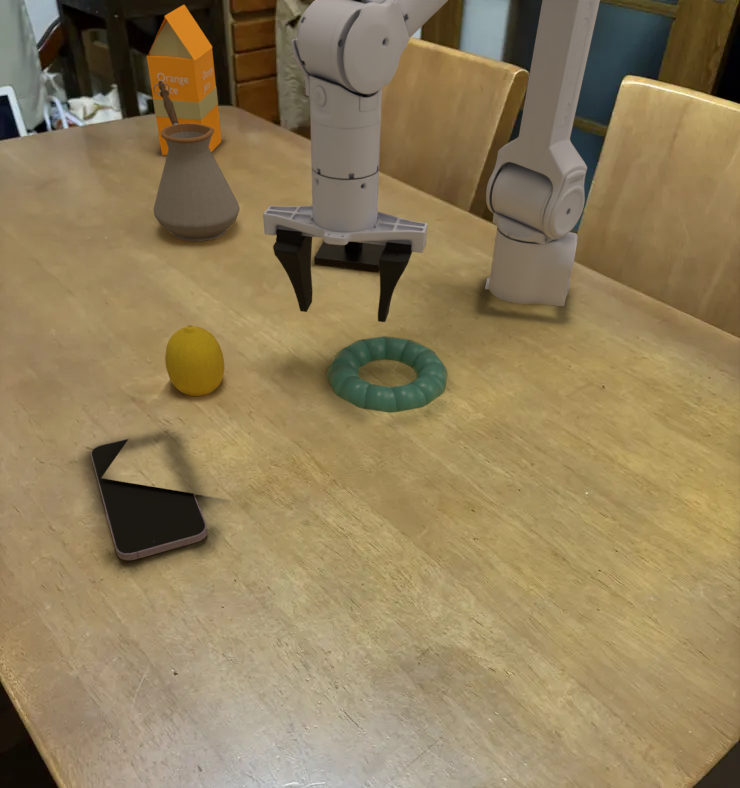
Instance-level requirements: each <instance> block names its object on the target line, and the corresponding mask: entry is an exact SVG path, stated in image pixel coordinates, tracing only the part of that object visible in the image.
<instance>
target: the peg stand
mask: <svg viewBox="0 0 740 788" xmlns="http://www.w3.org/2000/svg"><path fill="white" fill-rule="evenodd" d="M385 246H386V245H378V244H370V243H361V242H353V241H352V242H348V243H347V244H346V245H335V244H327V243H325V242H324V240H323V241H322V243H321V245H320V246H319V248H318V250H317V252H315V255H314V257H313V265H316V266H323V267H324V266H325V267H331V268H341V269H347V270H348V269H349V270H356V271H357V270H358V271H366V272H374V273H380V270H379V259H380V257H381V254H382V252H383V250H384V248H385Z"/></svg>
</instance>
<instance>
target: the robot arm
mask: <svg viewBox="0 0 740 788" xmlns="http://www.w3.org/2000/svg"><path fill="white" fill-rule="evenodd" d="M448 1H449V0H313V1H312V3H310V5H308V7H306V9H305V10H304V12H303V14H302V15H301V17H300V18H299V19H300V20H299V22H298V26H297V29H296V30H297V31H296V37H295V38H292V40H291V42H290V43H291V50H292V55H293V58H294V62H295V64H296V65H297V67H298V68H299V70H300V71H301V73H302V75H303V77H304V83H305V96H307V97H308V100H309V116H310V117H309V120H310V122H309V123H310V159H311V160H310V161H311V162H310V163H311V195H312V196H311V199H312V200H311V201H312V205H295V206H294V205H292V206H291V205H289V206H288V205H287V206H286V205H285V206H283V205H269V206H268V207H266V208H267V209H266V210H265V211H264V212H263V213H262V219H263V231H264V233H263V234H264V235H265V236H266V235H267V236H276V237H275V242H274V244H273V246H272V249H273V253H274V256H275V258H276V259H277V260H278V262H279V263H280V264H281V266H282V267H283V270H284V271H285V273H286V274H287V276H288V279H289V281H290V283H291V285H292V288H293V291H294V295H295V296H296V300H297V303H298V308H299V311H300V312H304V313H307V312H308V311H309V309H310V307H311V305H312V303H313V277H312V247H313V238H319V239H323V241H324V242H325V243H327V244H335V245H346V244H347V243H348V242H352V241H353V242H361V243H370V244H378V245H386V246H385V248H384V250H383V252H382V254H381V257H380V259H379V300H378V306H377V307H378V309H377V322H378V323H379V322H380V323H386V322H387V318H388V317H389V313H390V307H391V302H392V298H393V294H394V291H395V289H396V286H397V284H398V282H399V280H400V279H401V277H402V275H403V273H404V272H405V270H406V268H407V266H408V264H409V262H410V259H411V256H412V254H413V253H419V254H423V253H424V251H425V248H426V245H427V237H428V225H429V224H428V223H427V222H422V221H421V222H420V221H415V220H410V219H407V218H404V217H399V216H396V215H392V214H388V213H385V212H382V211H378V209H379V208H378V207H379V184H380V183H379V181H380V154H381V128H382V127H381V124H382V103H383V101H382V100H383V99H382V98H383V88H384V87H386V86H388V85H389V84H390V83H391V82H392V80H393V79H394V77H395V75H396V72H397V70H398V67H399V64H400V60H401V57H402V54H403V53H404V51H405V50H406V49H407V48H408V43H409V42H410V38H412V37H413V36H414V35H415V34H416V33H417V32H418V31H419V30H420V29H421V28H422V27H423V26H424V25H425V24H426V23H427V22H428V21H429V20H430V19H431V18H432V17H433V16H434V15H435V14H436V13H438V11H439V10H440V9H441V8H442V7H443V6H444V5H445V4H446V3H447V2H448ZM600 2H601V0H542V2H541V5H540V6H541V7H540V11H539V12H540V13H539V18H538V25H537V29H536V35H535V36H536V37H535V40H534V41H535V42H534V47H533V51H532V59H531V64H530V70H529V74H528V75H529V76H528V81H527V87H526V92H525V93H526V94H525V99H524V104H523V109H522V116H521V120H520V127H519V133H518V137H516V138H515V139H513V140H511V141H509V142H508V143H506V144H504V145H503V146H502V147H501V148H499V149H498V150H497V157H496V161H495V165H494V167H493V171H492V173H491V175H490V177H489V178H488V182H487V184H486V189H485V203H486V207H487V209H488V210H489V212H490V213H492V214H493V216H492V224H494V225H495V226H496V232H495V238H494V246H493V254H492V259H491V265H490V266H491V267H490V273H489V276H488V277H487V278H486V280H485V281H486V282H485V287H484V289H485V290H489V292H490V293H491V294H492V295H493V296H494V297H496V298H497V299H499V300H502V301H504V302H508V303H512V304H519V305H523V304H524V305H529V304H530V305H531V304H533V305H536V304H537V305H545V306H546V305H547V306H553V307H554V306H556V307H565V303H566V299H567V297H568V296H569V292H570V287H571V277H572V272H573V268H574V264H575V258H576V252H577V245H578V233H575V232H571V231H572V230H573V229H574V227H575V226H576V225H577V224H578V222H579V220H580V218H581V216H582V214H583V211H584V207H585V202H586V201H585V200H586V195H585V182H586V181H585V180H586V174H587V170H588V166H587V164H586V163H585V161H584V159H583V158H582V156H581V155H580V154H579V152H578V150H577V149H576V147H575V146H574V145H573V143H572V141H571V136H572V131H573V126H574V122H575V118H576V113H577V112H576V111H577V107H578V104H579V103H578V102H579V99H580V93H581V90H582V85H583V80H584V76H585V70H586V66H587V63H588V57H589V53H590V47H591V43H592V39H593V34H594V29H595V26H596V21H597V17H598V11H599V6H600Z"/></svg>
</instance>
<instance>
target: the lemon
mask: <svg viewBox="0 0 740 788" xmlns="http://www.w3.org/2000/svg"><path fill="white" fill-rule="evenodd" d="M164 356H165V358H164V361H165V363H164V364H165V369H166V372H167V375H168V378H169V380H170V382H171V383H172V385H173V386H174V387H175V388H176V390H178V391H179V392H181V393H182V394H184V395H186V396H191V397H200V396H201V397H202V396H206V395H209V394H211V393H213V392H214V391H215V390H217V388H218V387H219V386H220V384H221V383H222V381H223V377H224V373H225V359H224V354H223V350H222V348H221V345H220V343H219V341H218V340H217V338H216V337H215V336H214V335H213V334H212V333H211V332H210V331H209V330H207V329H205V328H203V327H200V326H196V325H191V324H189V325H186V326H183V327H182V328H180V329H178V330H176V331H175V332H174V333H173V334H172V335H171V336H170V338H169V339H168V341H167V343H166V349H165V355H164Z"/></svg>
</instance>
